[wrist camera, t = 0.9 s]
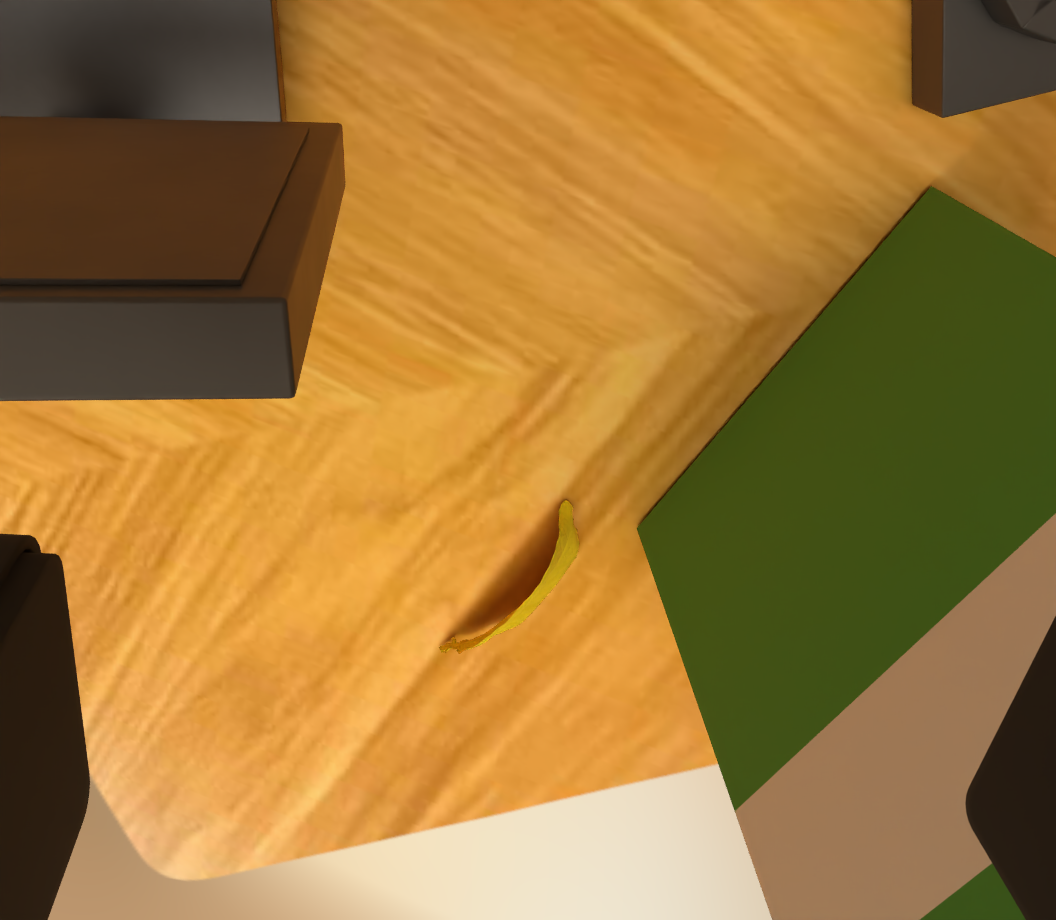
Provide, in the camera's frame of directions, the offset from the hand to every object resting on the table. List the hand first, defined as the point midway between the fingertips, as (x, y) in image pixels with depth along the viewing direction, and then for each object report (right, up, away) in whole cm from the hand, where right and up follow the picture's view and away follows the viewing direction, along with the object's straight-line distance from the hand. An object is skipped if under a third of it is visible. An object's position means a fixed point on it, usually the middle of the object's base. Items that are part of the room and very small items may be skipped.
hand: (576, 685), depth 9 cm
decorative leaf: (-1, -3, +34) cm, 34 cm away
